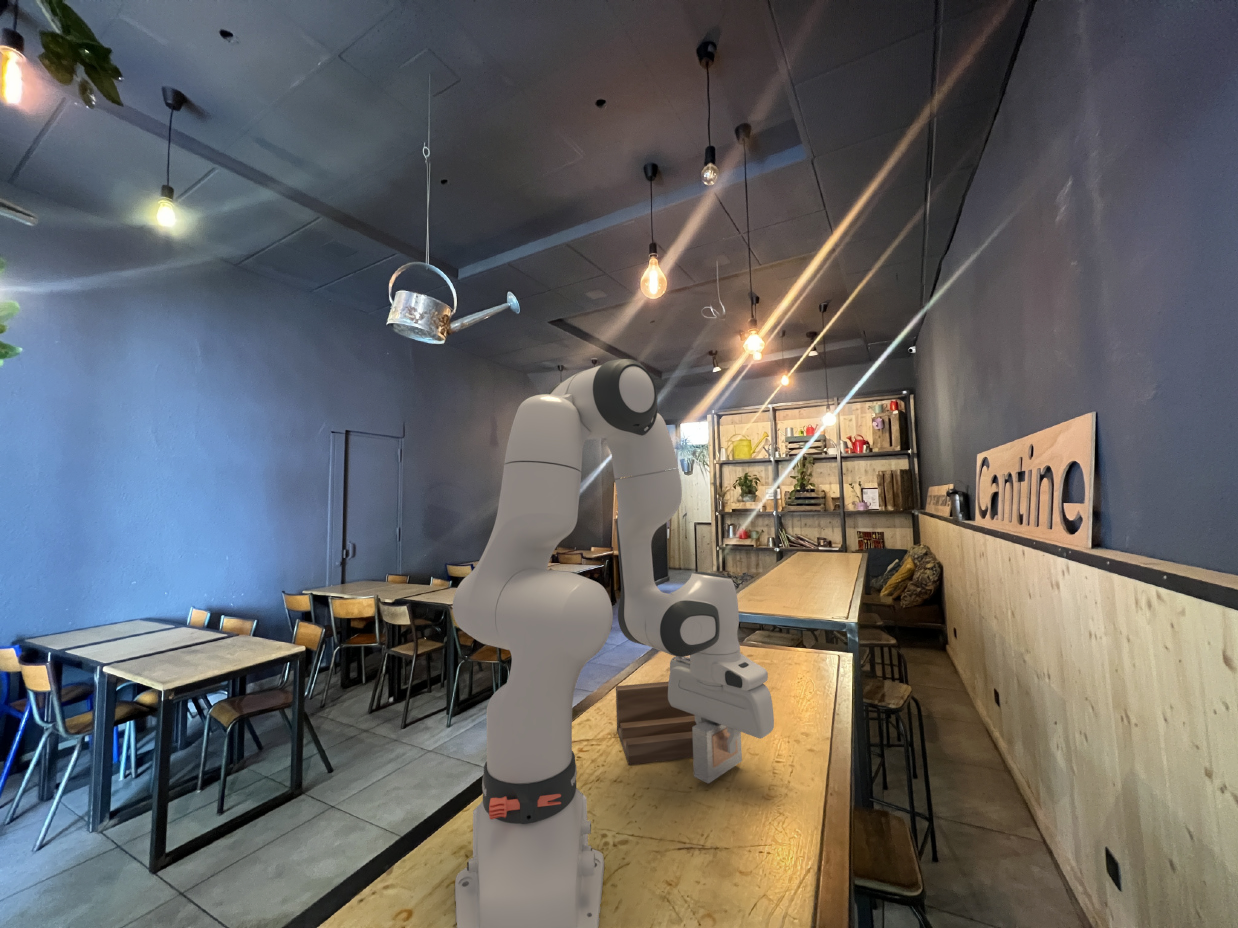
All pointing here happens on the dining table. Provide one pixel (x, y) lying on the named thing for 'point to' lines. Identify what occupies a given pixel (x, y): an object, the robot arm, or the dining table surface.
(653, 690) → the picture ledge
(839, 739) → the dining table surface
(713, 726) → the light grey rectangular block
